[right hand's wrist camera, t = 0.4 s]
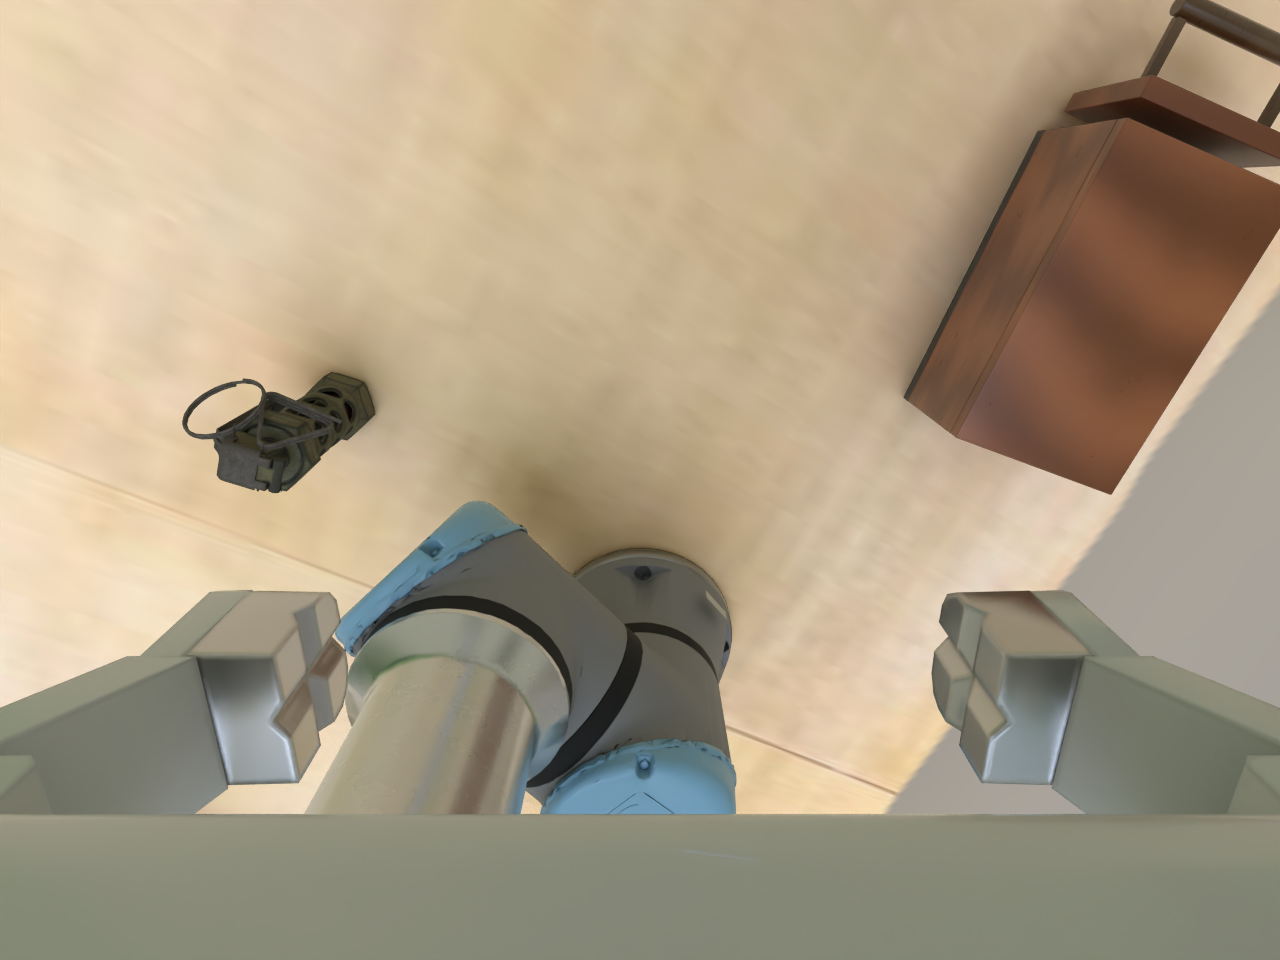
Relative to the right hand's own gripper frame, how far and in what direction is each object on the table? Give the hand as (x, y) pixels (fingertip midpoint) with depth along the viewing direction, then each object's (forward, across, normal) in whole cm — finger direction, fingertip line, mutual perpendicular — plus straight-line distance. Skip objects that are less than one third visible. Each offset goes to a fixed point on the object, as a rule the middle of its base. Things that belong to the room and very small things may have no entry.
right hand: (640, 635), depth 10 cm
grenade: (+48, +23, +8) cm, 54 cm away
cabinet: (+48, -29, +2) cm, 56 cm away
